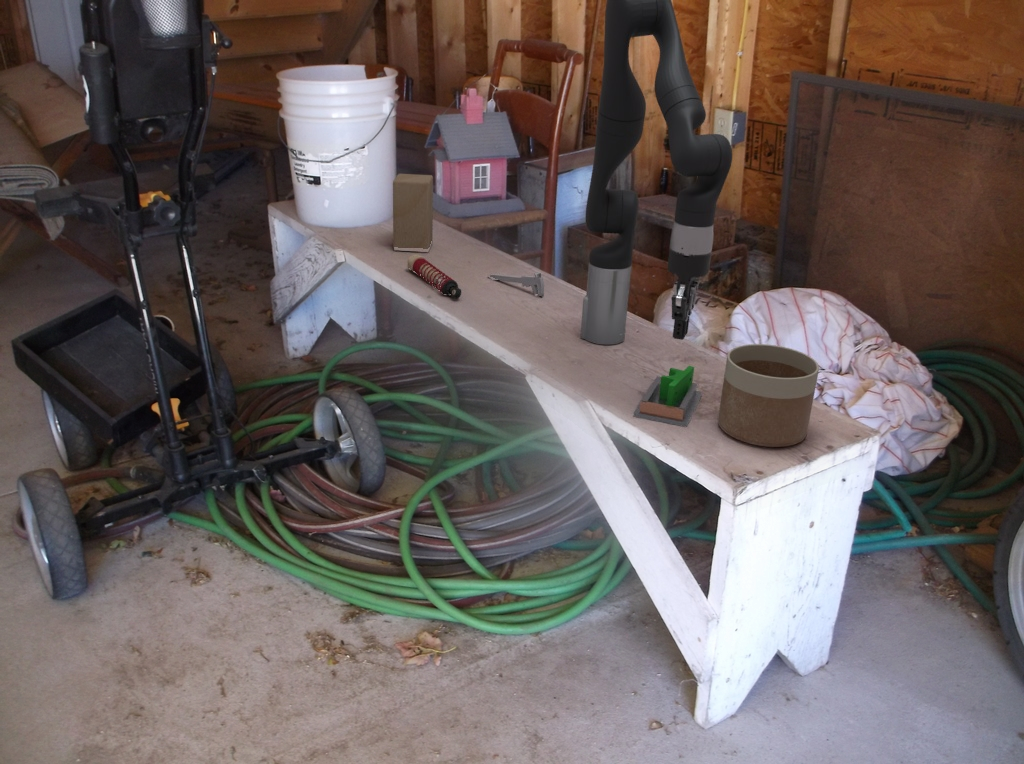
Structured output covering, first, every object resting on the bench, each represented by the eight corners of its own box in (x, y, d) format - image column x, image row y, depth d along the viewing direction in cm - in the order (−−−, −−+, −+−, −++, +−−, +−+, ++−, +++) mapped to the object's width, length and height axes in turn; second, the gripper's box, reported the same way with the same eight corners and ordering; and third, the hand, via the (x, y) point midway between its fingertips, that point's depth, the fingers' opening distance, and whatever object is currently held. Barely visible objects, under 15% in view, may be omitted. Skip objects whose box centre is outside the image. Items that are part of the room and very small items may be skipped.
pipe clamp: (673, 383, 189) (676, 362, 187) (691, 388, 187) (694, 366, 185) (653, 403, 180) (655, 381, 178) (671, 408, 178) (674, 385, 176)
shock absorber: (470, 288, 230) (421, 253, 254) (454, 283, 228) (406, 248, 252) (463, 306, 232) (415, 269, 255) (446, 301, 229) (399, 265, 253)
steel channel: (633, 416, 176) (634, 402, 175) (651, 386, 189) (653, 373, 188) (686, 426, 173) (688, 413, 172) (701, 395, 186) (703, 382, 185)
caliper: (543, 298, 236) (545, 274, 234) (540, 299, 236) (541, 275, 233) (489, 277, 250) (490, 254, 247) (486, 278, 249) (487, 255, 247)
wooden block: (393, 251, 267) (392, 180, 259) (398, 242, 276) (397, 173, 268) (428, 253, 267) (429, 182, 259) (432, 243, 276) (433, 174, 268)
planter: (755, 404, 183) (766, 337, 178) (824, 435, 172) (837, 366, 166) (699, 423, 175) (708, 354, 169) (767, 458, 163) (780, 385, 158)
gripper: (678, 235, 179) (668, 321, 186) (662, 253, 167) (652, 345, 174) (718, 240, 176) (706, 328, 183) (704, 259, 165) (692, 352, 172)
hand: (679, 336), depth 179 cm, fingers closed
